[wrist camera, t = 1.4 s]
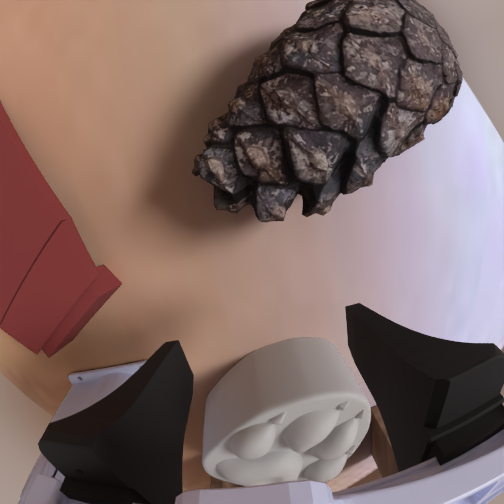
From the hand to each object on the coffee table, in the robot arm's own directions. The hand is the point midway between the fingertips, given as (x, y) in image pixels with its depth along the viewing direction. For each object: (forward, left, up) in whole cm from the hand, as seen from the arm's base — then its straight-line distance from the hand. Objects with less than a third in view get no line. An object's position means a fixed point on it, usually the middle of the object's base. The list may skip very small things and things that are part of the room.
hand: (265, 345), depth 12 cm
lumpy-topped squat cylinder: (-1, -12, -10) cm, 15 cm away
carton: (-19, +12, -10) cm, 24 cm away
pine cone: (+8, +9, -10) cm, 16 cm away
